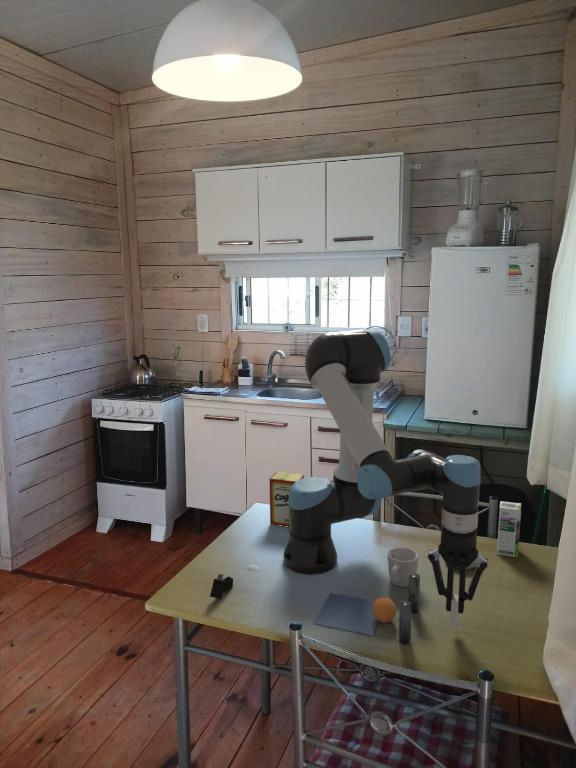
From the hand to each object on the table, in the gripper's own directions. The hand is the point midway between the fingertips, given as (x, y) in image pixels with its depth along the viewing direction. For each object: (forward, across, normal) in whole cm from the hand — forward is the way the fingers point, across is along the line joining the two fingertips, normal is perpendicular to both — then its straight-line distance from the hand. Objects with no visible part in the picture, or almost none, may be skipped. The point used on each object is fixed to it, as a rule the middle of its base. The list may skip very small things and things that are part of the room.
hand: (454, 624), depth 136 cm
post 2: (+2, -10, +6) cm, 12 cm away
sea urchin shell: (+3, -1, +34) cm, 34 cm away
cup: (+3, -15, +17) cm, 23 cm away
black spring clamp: (+3, -57, -3) cm, 57 cm away
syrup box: (+3, +11, +45) cm, 46 cm away
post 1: (+2, -10, -6) cm, 12 cm away
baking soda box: (+3, -56, +43) cm, 71 cm away
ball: (0, -16, 0) cm, 16 cm away
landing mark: (+2, -24, 0) cm, 24 cm away
